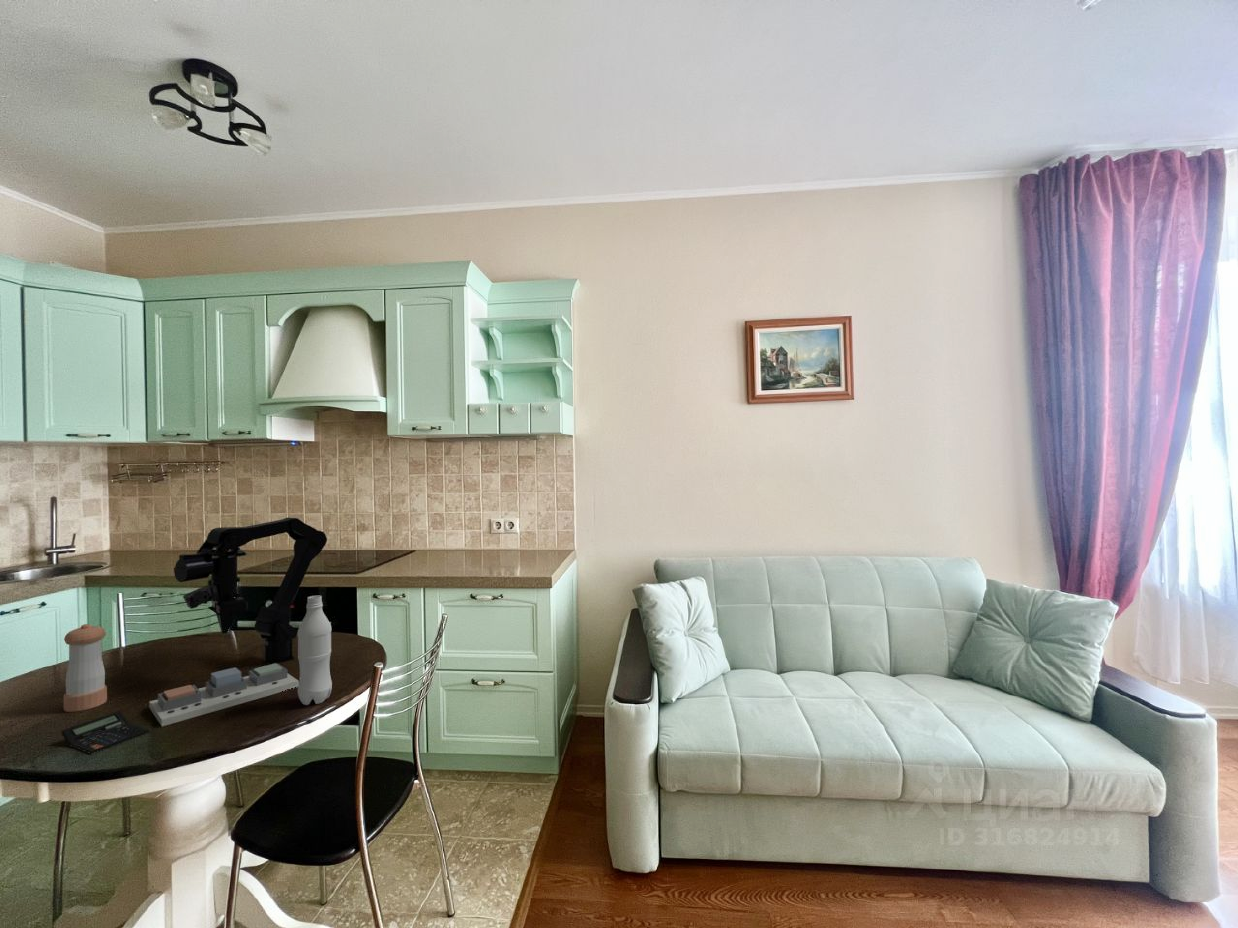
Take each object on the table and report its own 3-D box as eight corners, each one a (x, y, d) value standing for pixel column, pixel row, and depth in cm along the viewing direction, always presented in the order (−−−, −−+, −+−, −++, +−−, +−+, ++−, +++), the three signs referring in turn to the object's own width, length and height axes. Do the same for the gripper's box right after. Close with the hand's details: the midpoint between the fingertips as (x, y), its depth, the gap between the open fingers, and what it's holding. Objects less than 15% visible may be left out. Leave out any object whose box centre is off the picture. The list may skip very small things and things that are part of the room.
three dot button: (190, 694, 128) (190, 684, 128) (195, 700, 125) (195, 690, 125) (163, 702, 125) (163, 691, 125) (168, 708, 121) (168, 697, 121)
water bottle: (338, 696, 131) (338, 594, 131) (313, 709, 124) (312, 601, 124) (316, 692, 133) (316, 592, 133) (290, 704, 126) (289, 599, 126)
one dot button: (275, 672, 142) (275, 663, 142) (282, 677, 139) (282, 667, 139) (253, 678, 138) (253, 668, 138) (260, 683, 135) (260, 673, 135)
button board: (279, 673, 146) (279, 660, 146) (298, 686, 137) (298, 672, 137) (149, 707, 125) (149, 692, 125) (161, 726, 116) (161, 709, 116)
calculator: (91, 755, 105) (91, 740, 105) (61, 744, 110) (61, 729, 110) (148, 733, 114) (148, 719, 114) (118, 723, 118) (118, 710, 118)
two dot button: (235, 677, 135) (235, 667, 135) (241, 682, 132) (241, 672, 132) (211, 683, 131) (210, 673, 131) (216, 688, 128) (216, 678, 128)
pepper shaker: (73, 701, 129) (73, 622, 129) (112, 696, 132) (112, 618, 132) (56, 714, 122) (56, 630, 122) (97, 708, 125) (97, 626, 125)
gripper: (178, 575, 143) (178, 633, 143) (195, 584, 131) (195, 648, 131) (228, 568, 151) (228, 623, 151) (248, 577, 139) (249, 637, 139)
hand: (224, 632), depth 143 cm, fingers closed
